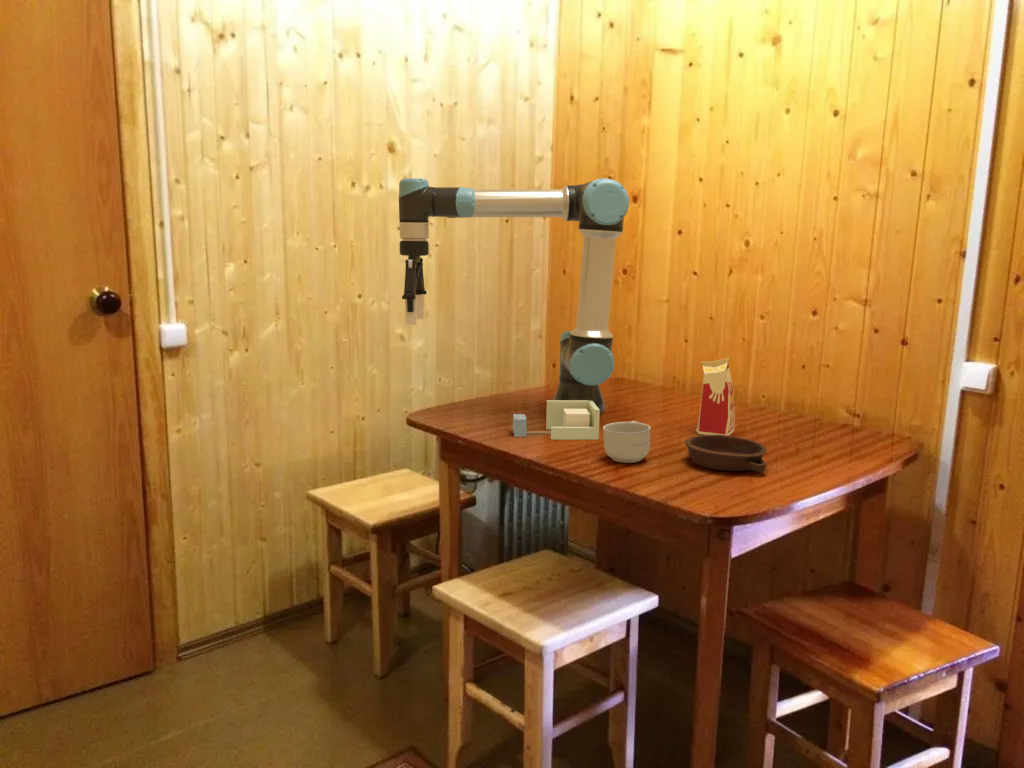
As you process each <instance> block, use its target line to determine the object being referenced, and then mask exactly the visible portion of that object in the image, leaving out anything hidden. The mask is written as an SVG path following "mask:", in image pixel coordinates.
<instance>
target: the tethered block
mask: <svg viewBox="0 0 1024 768" xmlns="http://www.w3.org/2000/svg"><path fill="white" fill-rule="evenodd" d="M527 422H528V421H527V417H526V414H525V413H513V414H512V433H514V434H513V436H514V438H526V437H527V436H530V435H531V436H533V435H534V436H541V435H542V436H543V435H544V436H546V435H548V436H549V435H550V436H551V430H549V431H548V430H531V431H530V430H529V431H528V429H527V427H528V426H527ZM589 424H590V413H589V412H588V411H587V409H563V427H589Z"/></svg>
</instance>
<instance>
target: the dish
mask: <svg viewBox="0 0 1024 768" xmlns="http://www.w3.org/2000/svg"><path fill="white" fill-rule="evenodd" d="M684 444H685V446H686V447H687V449H688V454H689V456H690V458H691V460H692V462H693V463H695V464H696V465H698V466H700V467H702V468H706V469H710V470H714V471H722V472H745V471H753V472H758V473H760V472H765V470H766V467H767V462H766V461H764V460H763V459H762V458H763V456H764V455H765V454H766V453H767V450H768V449H767V447H766V446H765V445H764V444H762V443H761V442H758V441H756V440H754V439H749V438H744V437H739V436H733V435H729V436H727V435H703V434H698V435H694V436H690V437H689V438H687V439H686V440H685V441H684Z"/></svg>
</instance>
